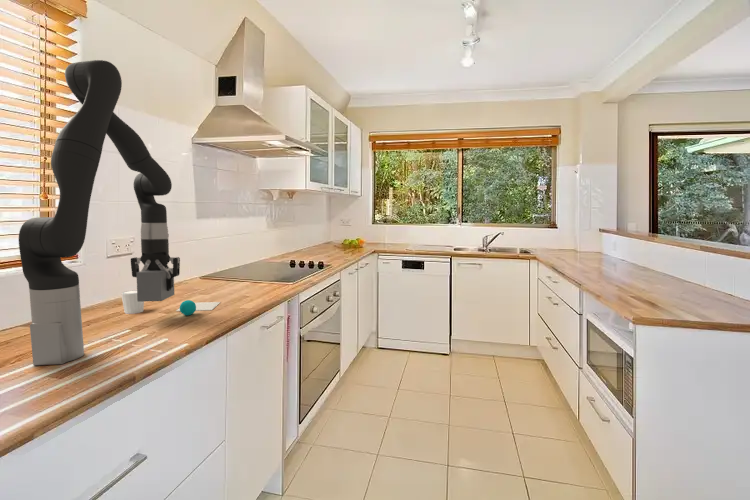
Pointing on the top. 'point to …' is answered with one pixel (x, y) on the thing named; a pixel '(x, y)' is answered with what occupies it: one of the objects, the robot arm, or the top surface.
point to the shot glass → (131, 302)
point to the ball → (187, 307)
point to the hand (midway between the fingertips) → (156, 290)
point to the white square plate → (205, 306)
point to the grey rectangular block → (153, 286)
